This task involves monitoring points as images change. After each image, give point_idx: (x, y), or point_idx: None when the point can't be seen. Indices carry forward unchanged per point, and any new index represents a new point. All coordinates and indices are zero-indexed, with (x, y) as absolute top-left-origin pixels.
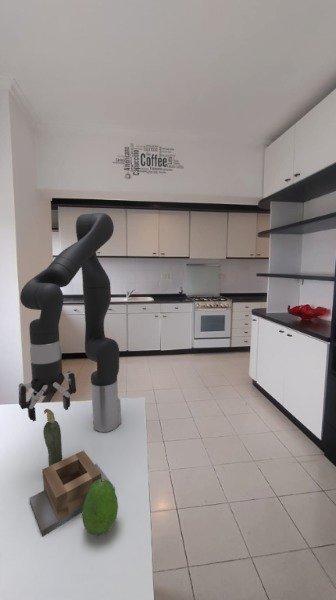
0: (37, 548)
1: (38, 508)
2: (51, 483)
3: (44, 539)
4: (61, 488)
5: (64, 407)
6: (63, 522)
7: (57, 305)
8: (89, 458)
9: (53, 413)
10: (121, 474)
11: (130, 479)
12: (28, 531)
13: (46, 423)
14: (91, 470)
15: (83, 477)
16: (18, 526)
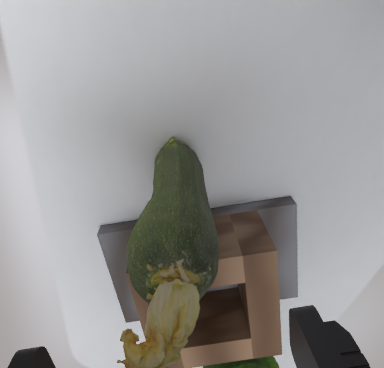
0: (119, 325)
1: (120, 273)
2: None
3: None
4: None
5: (294, 337)
6: None
7: None
8: (277, 294)
9: (197, 315)
10: (334, 248)
11: (342, 271)
12: (101, 290)
13: (143, 281)
14: (263, 336)
15: (234, 348)
16: (79, 272)
